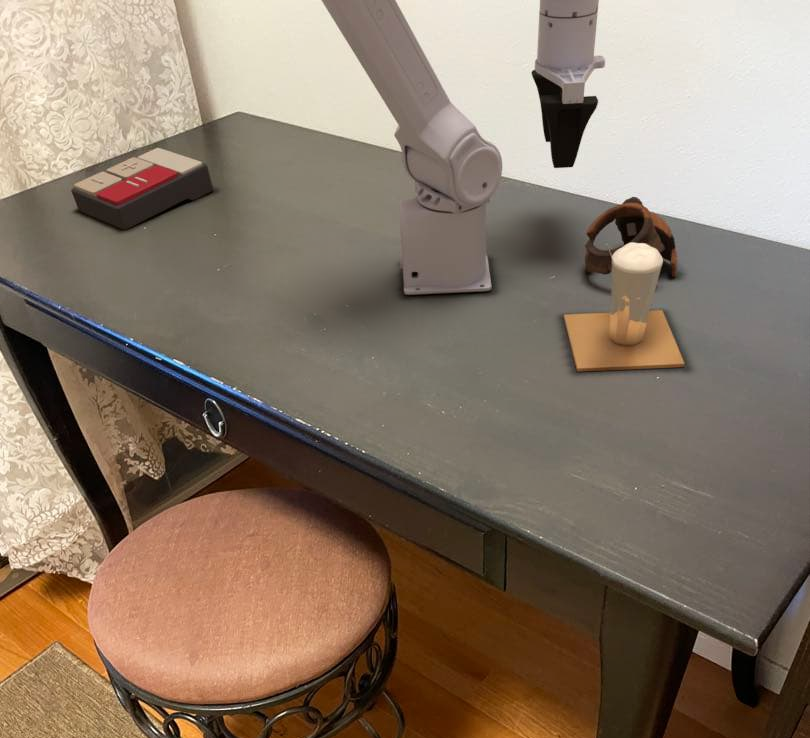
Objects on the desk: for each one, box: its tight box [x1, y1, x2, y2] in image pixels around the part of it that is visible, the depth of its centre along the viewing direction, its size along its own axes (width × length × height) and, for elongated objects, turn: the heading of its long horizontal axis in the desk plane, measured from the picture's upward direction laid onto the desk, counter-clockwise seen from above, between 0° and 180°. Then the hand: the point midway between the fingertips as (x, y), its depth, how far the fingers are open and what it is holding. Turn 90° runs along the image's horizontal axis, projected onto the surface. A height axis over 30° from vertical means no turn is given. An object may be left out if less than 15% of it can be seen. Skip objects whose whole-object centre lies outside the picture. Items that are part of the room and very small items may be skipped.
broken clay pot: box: [584, 196, 678, 278], centre depth 92 cm, size 12×10×8 cm
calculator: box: [70, 147, 214, 231], centre depth 114 cm, size 11×4×15 cm
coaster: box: [563, 309, 685, 372], centre depth 83 cm, size 10×10×1 cm
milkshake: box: [605, 241, 664, 346], centre depth 79 cm, size 4×5×10 cm
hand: (558, 153), depth 93 cm, fingers open, 7 cm apart
